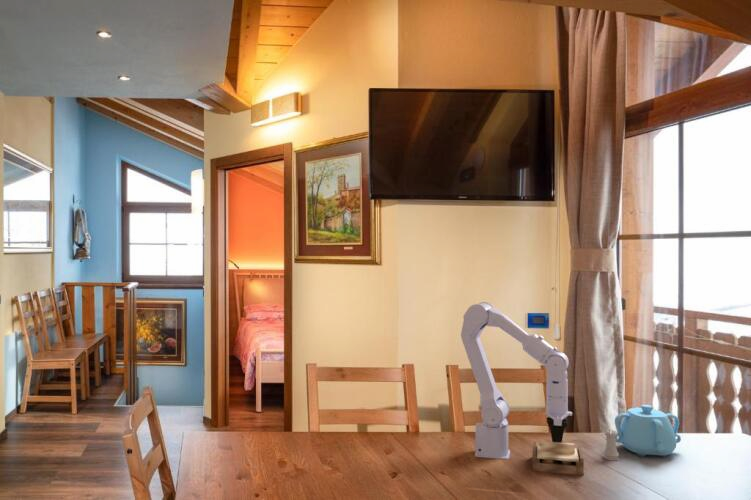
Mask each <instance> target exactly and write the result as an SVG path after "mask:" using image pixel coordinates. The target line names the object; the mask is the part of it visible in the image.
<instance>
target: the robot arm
mask: <svg viewBox="0 0 751 500" xmlns="http://www.w3.org/2000/svg"><path fill="white" fill-rule="evenodd" d="M485 327H494V328H495V327H496V328H500V329H501V330H502V331H503V332H505V333H506V334H507V335H509V336H511V337H512V338H514V339H515V340H517V342H519V343H521V344H522V345H521V346H522V350H523V351H524V352H525V353H527V354H528V355H529V356H531V358H533V359H535V361H537V362H538V363H540V364H541V365H544V369H545V371H546V379H545V381H546V386H545V387H546V390H545V393H546V398H545V399H546V403H545V405H546V409H545V415H547V417H546V418H545V419H546V423H547V425H548V428H549V431H550V435H551V442H559V443H563V436H564V432H565V430H566V428H567V426H568V424H569V423H568V416H571V417H572V416H573V412H572V411H570V410H569V408H568V406H569V405H568V404H569V403H568V402H569V400H568V397H569V396H568V395H569V391H568V389H569V386H568V385H569V383H568V382H569V380H568V371H567V369H568V367H569V364H570V362H569V361H570V360H569V357H568V356H567V354H565V352H563V351H561V350H558V348H557V346H554V347H553V345H551V344H549V343H548V342H547V341H546V340H544V339H545V338H544V336H542V335H537V334H535V333H533V334H529V333H528V332H526V330H524V329H523V328H522V327H521V326H519V325H518V324H517V323H516V322H514V321H513V320H512V319H511V318H510V317H508V316H507V315H506V314H505V313H503V312H502V311H501V310H500V309H499V308H497V307H495V306H493V305H492V304H491V303H489V302H487V301H481V302H479V303H475V304H472V305H470V306H469V307H468V308H467V310H466V311H465V313H464V315H463V322H462V327H461V332H460V337H461V342H462V344H463V347H464V351H465V353H466V355H467V359H468V362H469V364H470V367H471V370H472V374H473V376H474V379H475V381H476V382H475V383H476V385H477V387H478V388H477V389H478V391H479V394H480V395H479V397H480V398H479V404H480V407H481V412H480V413H481V414H480V416H481V419H482V422H476V424H475V435H474V437H475V439H474V440H475V442H474V449H475V452H474V453H475V455H474V456H475V457H477V458H490V459H497V460H498V459H502V460H509V459H510V457H511V456H510V455H511V449H509V422H508V420H507V417H508V416H509V414H510V409H511V408H510V405H509V402H507V401H506V399H505V398H504V397H503V395H502V392H501V391H500V390H499V389H498V387H497V383H496V381H495V378H494V375H493V372H492V368H491V366H490V364H489V360H488V357H487V354H486V352H485V349H484V346H483V342H482V341H481V340H482V339H481V335H482V333H483V331H484V329H485Z"/></svg>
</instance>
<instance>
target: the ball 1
mask: <svg viewBox="0 0 751 500" xmlns="http://www.w3.org/2000/svg"><path fill="white" fill-rule="evenodd" d="M553 462H554V461H553V460H551V459H542V463H551V464H553Z"/></svg>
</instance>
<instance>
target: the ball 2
mask: <svg viewBox="0 0 751 500" xmlns="http://www.w3.org/2000/svg"><path fill="white" fill-rule="evenodd" d="M561 462H562V463H563V464H564V465H571V463H572V461H563V460H561Z"/></svg>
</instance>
